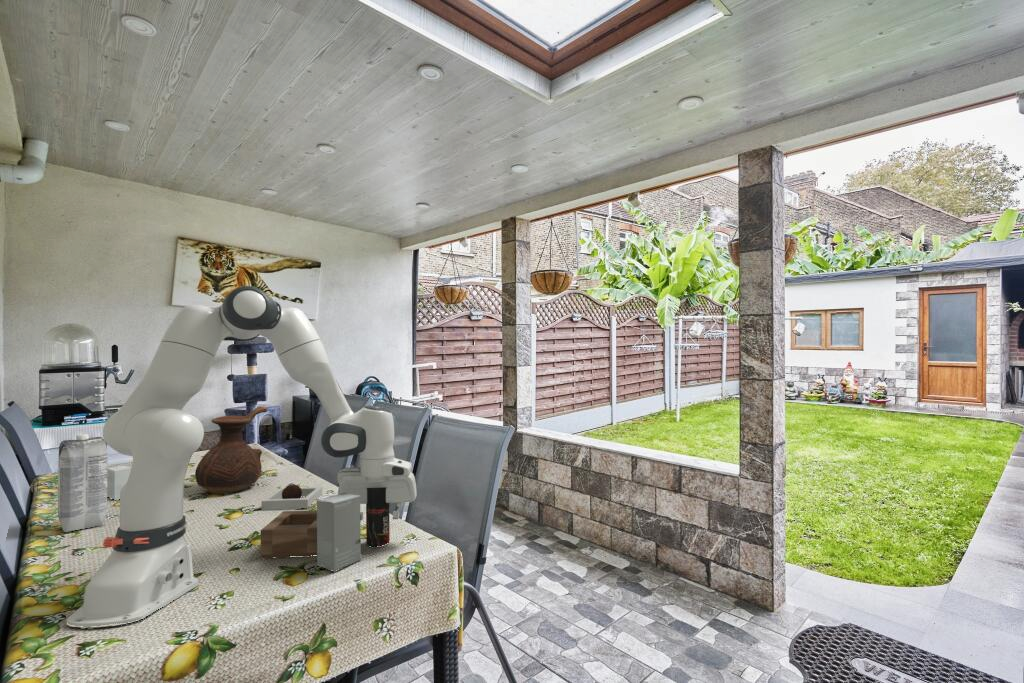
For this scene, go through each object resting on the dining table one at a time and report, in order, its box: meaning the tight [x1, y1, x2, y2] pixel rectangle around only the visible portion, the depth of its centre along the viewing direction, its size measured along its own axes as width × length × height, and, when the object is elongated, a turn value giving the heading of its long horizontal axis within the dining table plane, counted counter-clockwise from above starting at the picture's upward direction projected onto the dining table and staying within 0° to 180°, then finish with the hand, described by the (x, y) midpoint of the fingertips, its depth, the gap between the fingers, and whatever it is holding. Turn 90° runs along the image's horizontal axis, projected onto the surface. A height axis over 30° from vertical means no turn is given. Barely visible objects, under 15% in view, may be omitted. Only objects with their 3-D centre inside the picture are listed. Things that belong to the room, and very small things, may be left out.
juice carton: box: [57, 434, 108, 533], centre depth 141 cm, size 9×10×27 cm
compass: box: [282, 483, 302, 499], centre depth 161 cm, size 8×8×7 cm
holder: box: [260, 509, 317, 559], centre depth 125 cm, size 14×14×7 cm
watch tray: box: [261, 486, 323, 511], centre depth 162 cm, size 14×14×3 cm
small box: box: [107, 464, 132, 501], centre depth 170 cm, size 8×6×10 cm
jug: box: [194, 405, 268, 495], centre depth 179 cm, size 22×22×30 cm
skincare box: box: [316, 493, 362, 572], centre depth 115 cm, size 8×7×16 cm
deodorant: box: [365, 487, 391, 548], centre depth 127 cm, size 6×6×15 cm
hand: (377, 519), depth 127 cm, fingers open, 8 cm apart
